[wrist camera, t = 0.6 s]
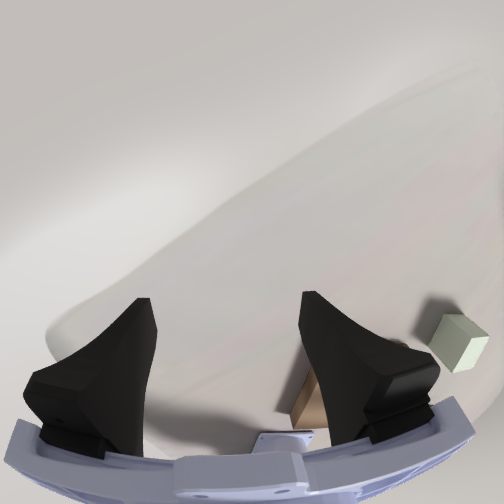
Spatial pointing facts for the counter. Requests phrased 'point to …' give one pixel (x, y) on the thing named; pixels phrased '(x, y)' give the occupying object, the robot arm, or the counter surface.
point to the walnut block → (310, 405)
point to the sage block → (458, 342)
